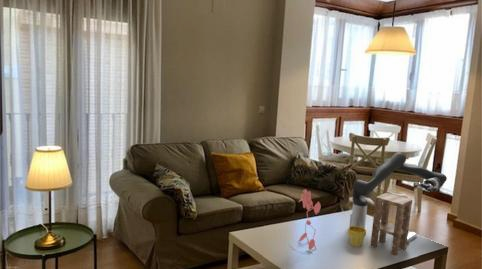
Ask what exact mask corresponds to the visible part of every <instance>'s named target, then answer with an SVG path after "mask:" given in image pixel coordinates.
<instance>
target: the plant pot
mask: <svg viewBox="0 0 482 269" xmlns="http://www.w3.org/2000/svg"><path fill="white" fill-rule="evenodd" d="M347 234H348V236H349V244H350V246H354V247H361V246H362V244H363V241H364V239H365V237H366V236H367V230H366V229H364V228H362V227H359V226H350V227H349V226H348V231H347Z"/></svg>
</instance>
